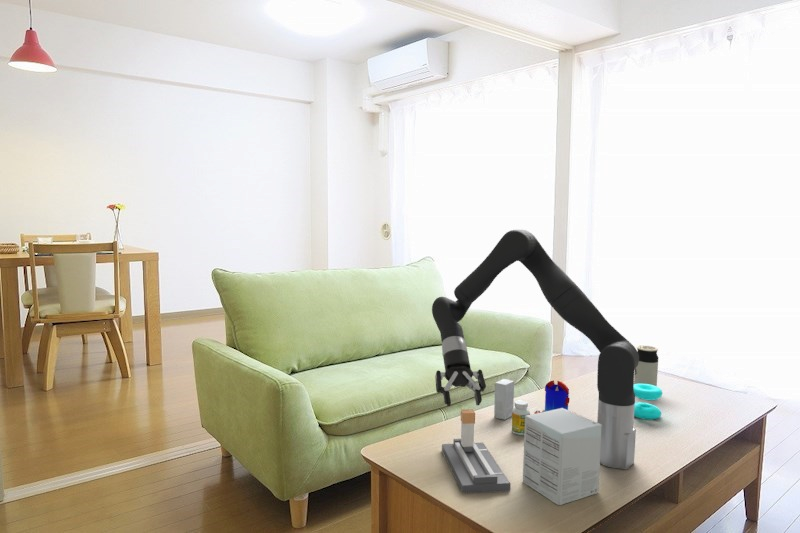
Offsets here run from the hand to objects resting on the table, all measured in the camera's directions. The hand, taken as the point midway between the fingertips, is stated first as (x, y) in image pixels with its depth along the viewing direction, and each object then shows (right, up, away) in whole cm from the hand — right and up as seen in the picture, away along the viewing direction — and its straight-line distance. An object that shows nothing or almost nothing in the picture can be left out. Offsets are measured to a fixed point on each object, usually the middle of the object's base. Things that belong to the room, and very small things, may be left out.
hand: (463, 404), depth 154 cm
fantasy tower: (+35, -12, +31) cm, 48 cm away
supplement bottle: (+19, -13, +15) cm, 28 cm away
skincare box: (+17, -11, +29) cm, 35 cm away
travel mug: (+76, -10, +55) cm, 94 cm away
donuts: (+65, -12, +32) cm, 74 cm away
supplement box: (+22, -16, -19) cm, 33 cm away
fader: (0, -12, -3) cm, 12 cm away
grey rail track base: (+1, -15, -10) cm, 18 cm away
